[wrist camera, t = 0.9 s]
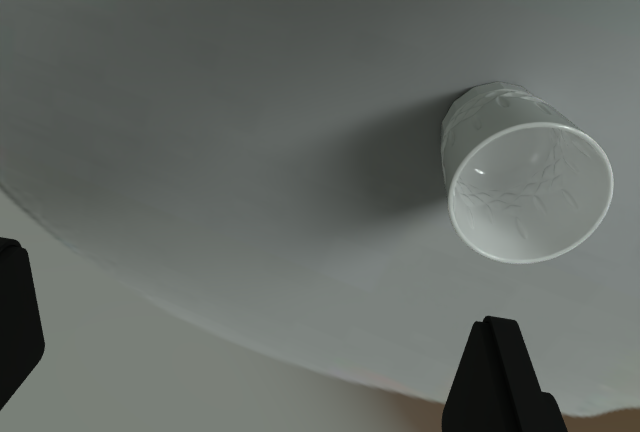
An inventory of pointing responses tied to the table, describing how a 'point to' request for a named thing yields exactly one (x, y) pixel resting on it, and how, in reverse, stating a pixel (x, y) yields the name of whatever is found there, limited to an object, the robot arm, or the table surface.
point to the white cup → (520, 176)
